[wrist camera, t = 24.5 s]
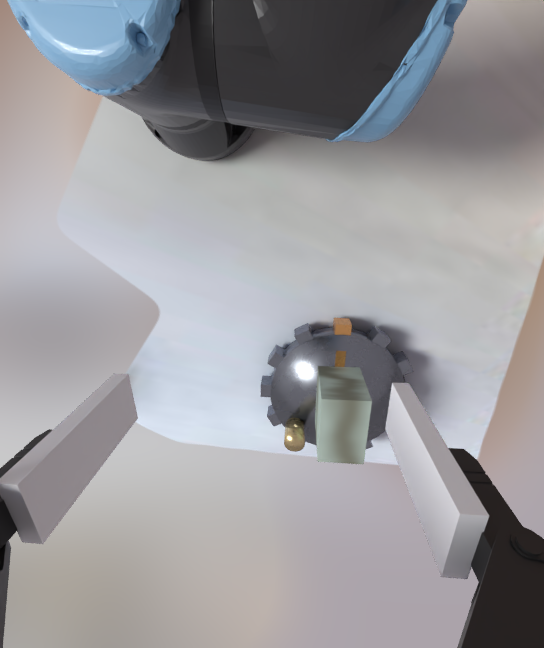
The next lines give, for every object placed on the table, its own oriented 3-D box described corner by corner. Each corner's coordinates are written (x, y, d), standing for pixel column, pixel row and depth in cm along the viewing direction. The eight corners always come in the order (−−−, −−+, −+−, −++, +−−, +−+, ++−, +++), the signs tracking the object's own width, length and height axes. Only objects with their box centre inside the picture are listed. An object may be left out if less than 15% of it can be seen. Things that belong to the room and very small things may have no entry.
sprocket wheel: (326, 461, 55) (329, 496, 48) (235, 379, 50) (225, 405, 44) (438, 391, 48) (460, 420, 41) (344, 286, 43) (352, 301, 37)
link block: (315, 421, 48) (317, 461, 41) (317, 366, 44) (321, 399, 37) (353, 423, 48) (363, 464, 40) (359, 367, 44) (371, 401, 37)
